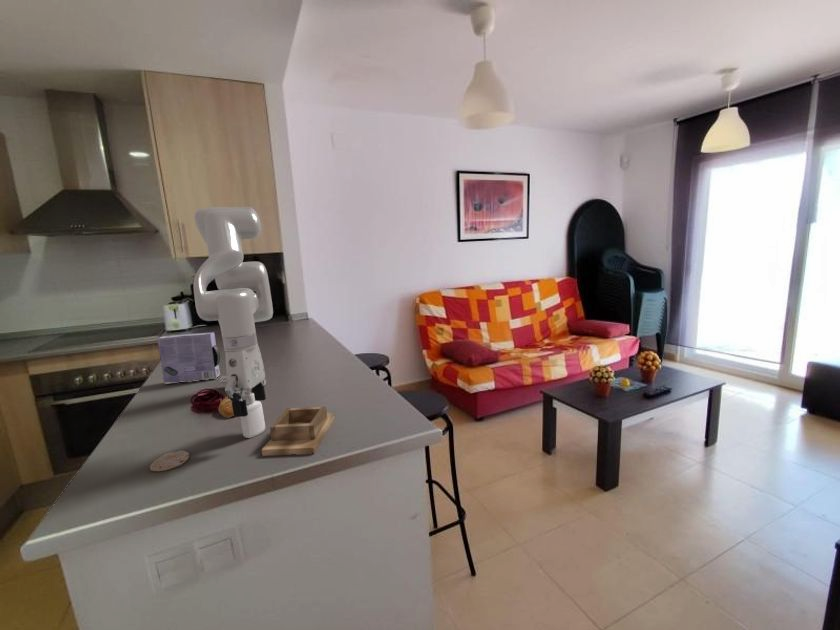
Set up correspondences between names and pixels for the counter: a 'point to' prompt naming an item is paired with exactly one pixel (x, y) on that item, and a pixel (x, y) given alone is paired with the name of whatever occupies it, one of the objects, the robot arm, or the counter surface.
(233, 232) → the robot arm
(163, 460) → the flatbread
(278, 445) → the holder stand
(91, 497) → the counter surface
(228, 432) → the counter surface
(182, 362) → the cake pan box
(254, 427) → the eye dropper bottle
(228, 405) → the pastry
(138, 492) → the counter surface
